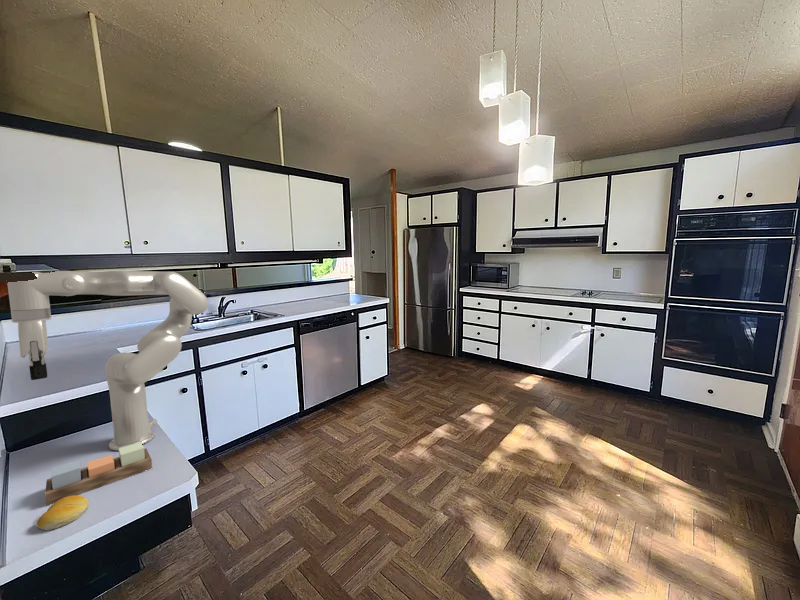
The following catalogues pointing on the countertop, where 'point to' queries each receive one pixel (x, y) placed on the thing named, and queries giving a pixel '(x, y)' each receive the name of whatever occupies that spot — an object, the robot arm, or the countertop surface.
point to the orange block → (101, 466)
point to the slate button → (66, 474)
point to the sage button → (131, 454)
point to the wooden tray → (96, 479)
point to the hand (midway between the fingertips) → (39, 378)
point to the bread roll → (63, 512)
